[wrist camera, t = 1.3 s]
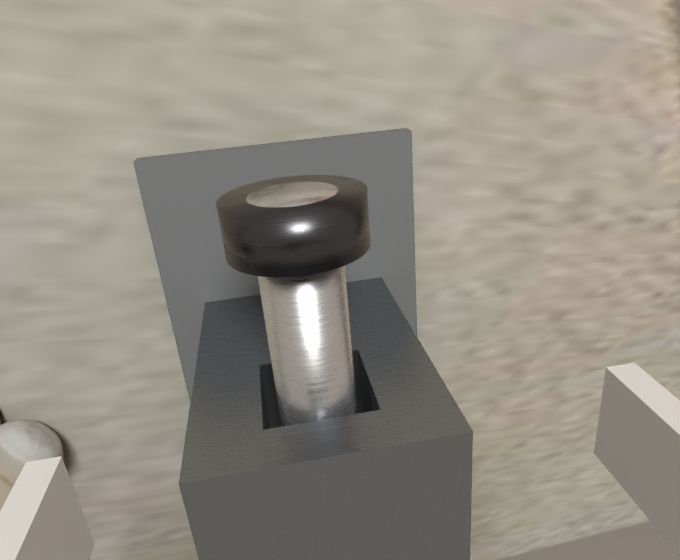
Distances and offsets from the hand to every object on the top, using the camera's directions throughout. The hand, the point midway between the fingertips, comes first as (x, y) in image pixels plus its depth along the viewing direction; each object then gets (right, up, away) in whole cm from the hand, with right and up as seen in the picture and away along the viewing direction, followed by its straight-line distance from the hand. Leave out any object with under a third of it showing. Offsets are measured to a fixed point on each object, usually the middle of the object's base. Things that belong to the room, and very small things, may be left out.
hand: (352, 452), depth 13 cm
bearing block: (-3, 0, +20) cm, 20 cm away
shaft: (-1, -3, +13) cm, 13 cm away
